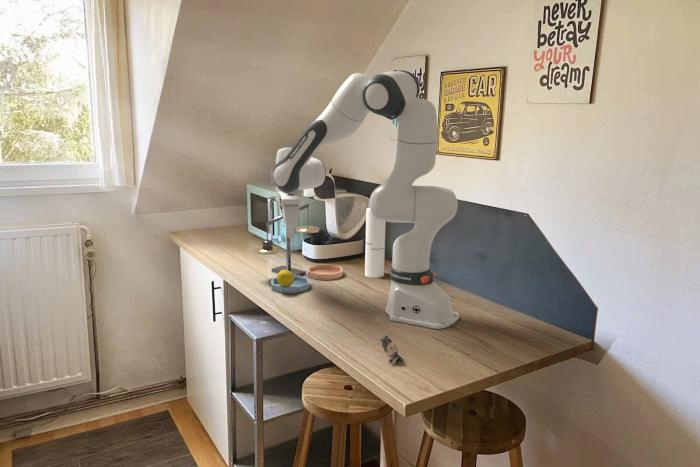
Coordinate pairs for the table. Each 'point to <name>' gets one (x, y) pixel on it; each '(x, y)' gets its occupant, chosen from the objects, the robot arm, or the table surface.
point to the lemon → (285, 278)
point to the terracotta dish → (325, 272)
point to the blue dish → (297, 286)
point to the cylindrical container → (374, 246)
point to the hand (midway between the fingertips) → (289, 235)
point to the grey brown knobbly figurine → (390, 349)
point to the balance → (270, 249)
